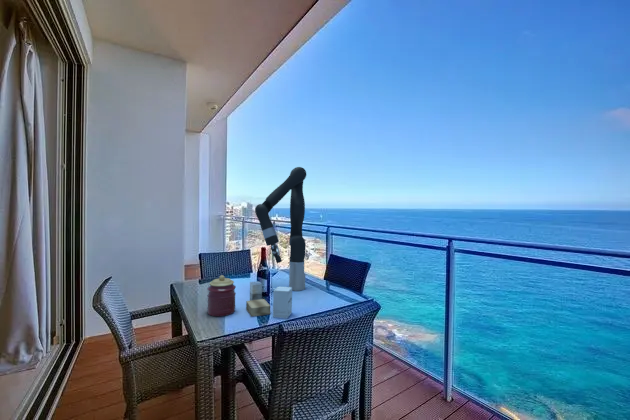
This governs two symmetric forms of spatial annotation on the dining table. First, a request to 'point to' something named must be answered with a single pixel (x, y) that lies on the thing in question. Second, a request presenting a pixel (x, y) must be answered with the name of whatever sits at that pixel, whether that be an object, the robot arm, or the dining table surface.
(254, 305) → the stand
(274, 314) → the supplement box
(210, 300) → the canister
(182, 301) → the dining table surface
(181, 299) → the dining table surface
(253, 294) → the block
